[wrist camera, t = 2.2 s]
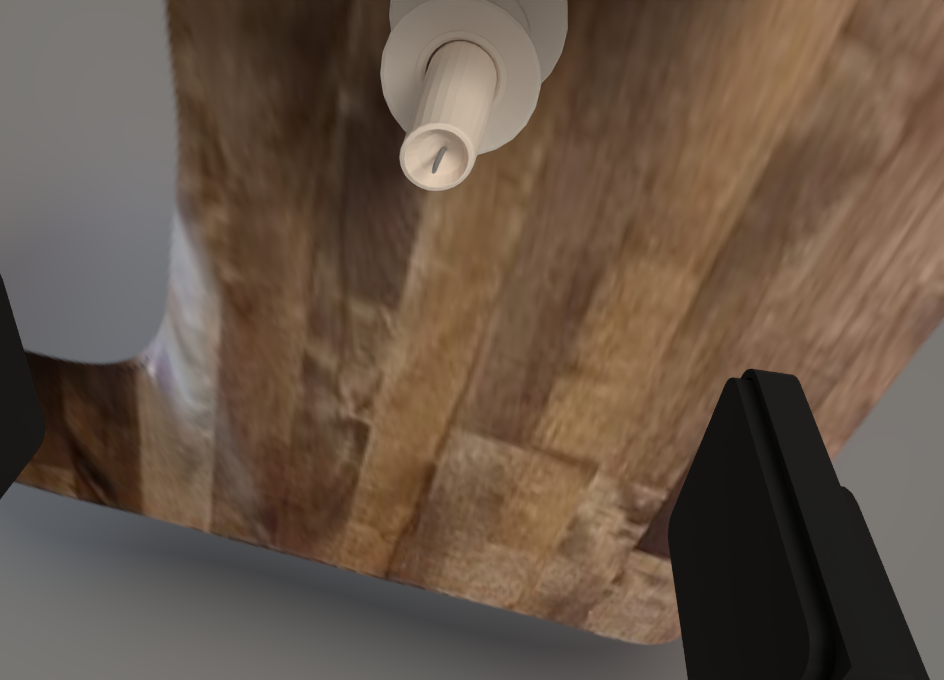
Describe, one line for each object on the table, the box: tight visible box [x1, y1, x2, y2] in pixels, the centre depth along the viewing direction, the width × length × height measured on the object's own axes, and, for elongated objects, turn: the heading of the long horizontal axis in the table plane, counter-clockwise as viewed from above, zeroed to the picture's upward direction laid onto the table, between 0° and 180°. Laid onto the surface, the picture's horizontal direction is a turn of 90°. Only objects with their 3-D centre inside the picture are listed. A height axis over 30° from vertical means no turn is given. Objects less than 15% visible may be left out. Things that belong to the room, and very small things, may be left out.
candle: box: [380, 0, 568, 191], centre depth 19 cm, size 5×5×10 cm
